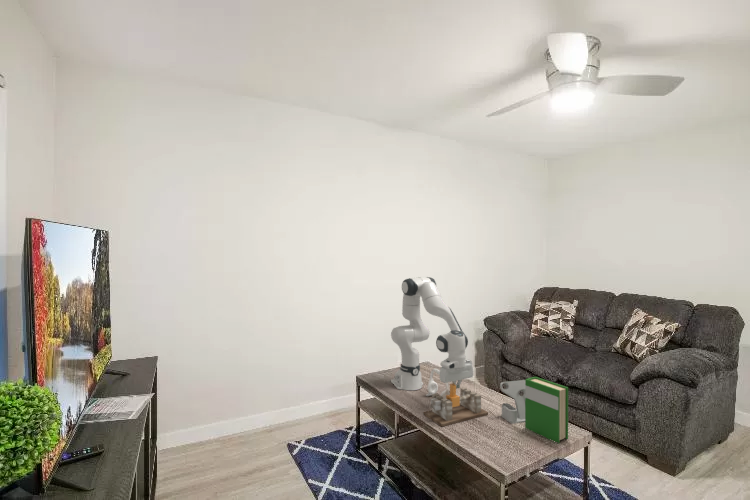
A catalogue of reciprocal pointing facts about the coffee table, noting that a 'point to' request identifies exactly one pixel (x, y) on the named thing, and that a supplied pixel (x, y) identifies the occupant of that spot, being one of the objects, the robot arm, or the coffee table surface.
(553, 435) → the hardback book
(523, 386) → the phone holder
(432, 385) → the headset
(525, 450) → the coffee table surface
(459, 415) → the cord comb board
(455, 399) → the sleeve
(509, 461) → the coffee table surface
